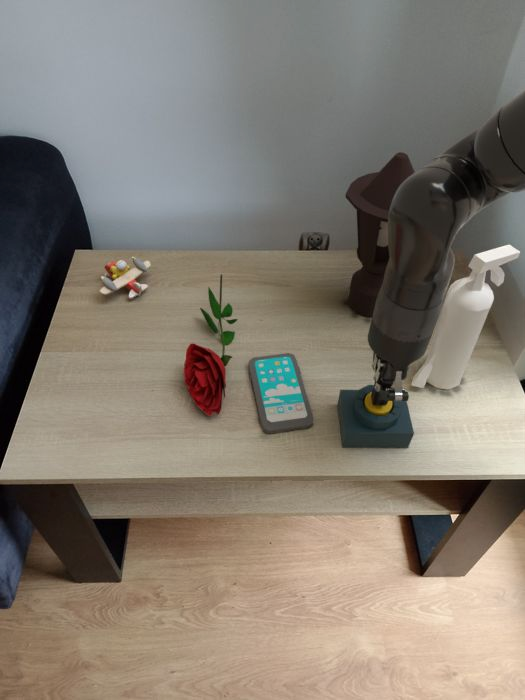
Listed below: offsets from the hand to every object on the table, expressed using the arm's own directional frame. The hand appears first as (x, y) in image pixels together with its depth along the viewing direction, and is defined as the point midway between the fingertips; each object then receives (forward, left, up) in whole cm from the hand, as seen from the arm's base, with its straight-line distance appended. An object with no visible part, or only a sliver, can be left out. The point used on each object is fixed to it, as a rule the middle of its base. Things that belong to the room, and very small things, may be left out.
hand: (378, 401), depth 75 cm
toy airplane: (+54, -2, -7) cm, 54 cm away
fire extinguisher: (-5, -15, -7) cm, 17 cm away
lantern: (+13, -25, -7) cm, 29 cm away
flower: (+30, +2, -7) cm, 31 cm away
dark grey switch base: (0, 0, -6) cm, 6 cm away
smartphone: (+15, +3, -6) cm, 17 cm away
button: (0, 0, -2) cm, 2 cm away
